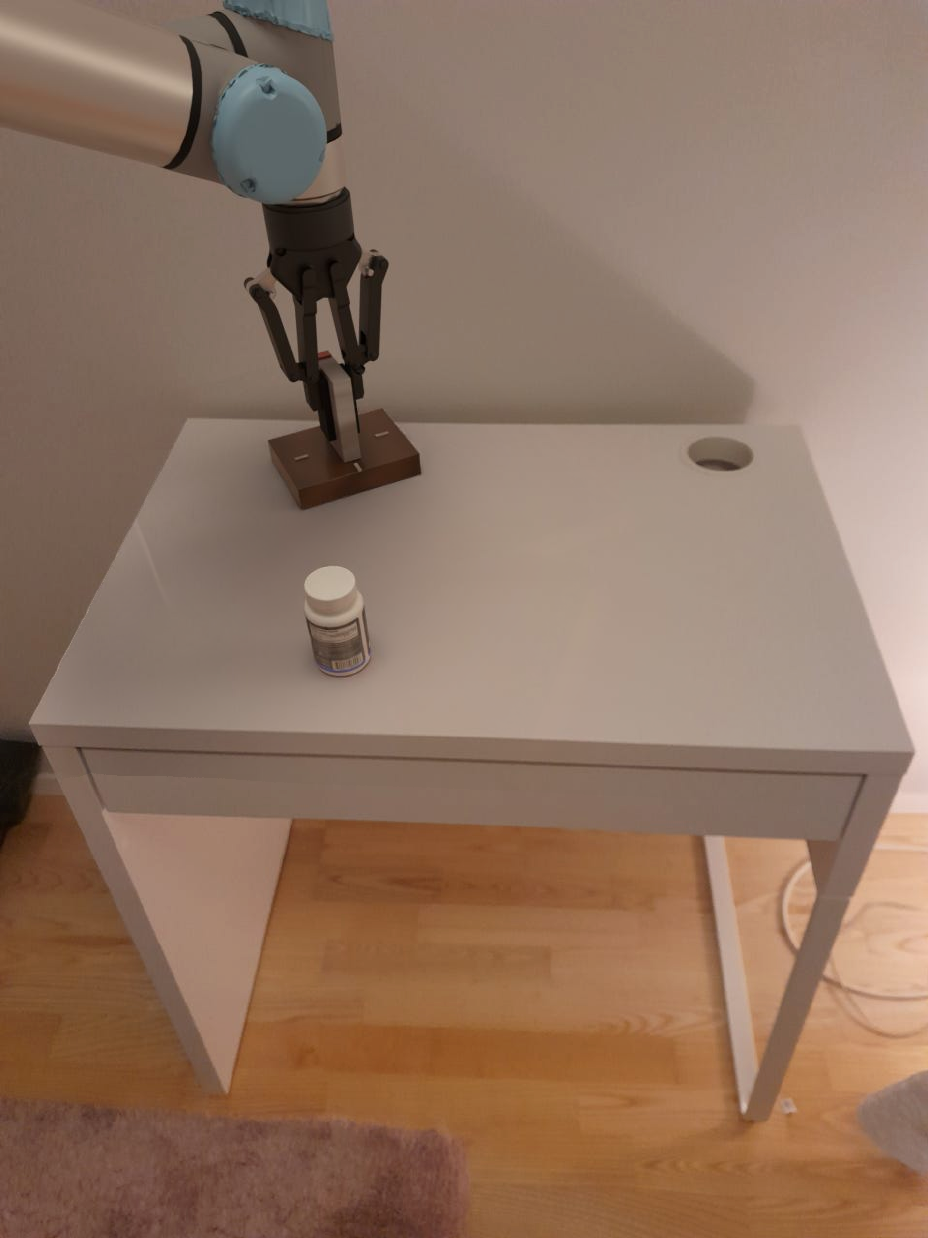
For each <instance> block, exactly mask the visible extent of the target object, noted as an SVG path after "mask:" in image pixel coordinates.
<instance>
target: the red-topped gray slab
mask: <svg viewBox="0 0 928 1238" xmlns="http://www.w3.org/2000/svg"><path fill="white" fill-rule="evenodd" d="M318 362H319V371H320V372H321V373H322V375H323V376H324V377H325V379H326V380H327V381H328V386H329V393H330V400H331V406H332V413H333V419H334V426H335V433H336V439H337V440H334V441H330V443H331V444H332V446H333V447H334V449H335V450H336V451H337V453H338V454H339V456H340V457H341V459H342V460H343V461H344V463H346V462H349V461H353V460H356V459H359V458H361V455H360V447H359V440H358V432H357V425H356V417H355V409H354V402H353V394H352V387H351V379H350V377H349V376H348V375H347V373H346V372H345V371H344V370H343V368H342V367H341V366H340V365H339V364H340V363H339V361H337V359H336V358H335V357H334V356H333V355H332V353H331V352H330V351H329V350H323V351H320V352H319V351H318Z"/></svg>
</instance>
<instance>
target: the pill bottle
mask: <svg viewBox="0 0 928 1238" xmlns="http://www.w3.org/2000/svg"><path fill="white" fill-rule="evenodd" d="M303 590H304V597H305V601H304V604H303V614H304V616H305V622H306V625H307V630H308V631H307V632H308V634H309V640H310V643H311V649H312V653H313V659H314V662H315V664H316V666H317V667H318V669H319V670H320V671H321V672H323V673H325V674H327V675H330V676H334V677H347V676H351V675H354V674H356V673H357V672H360V671H361V670H362V669H364V668H365V666H366V665H367V664H368V663H369V661H370V659H371V656H372V647H371V640H370V635H369V633H370V632H369V628H368V622H367V621H368V620H367V615H366V608H365V601H364V598H363V595H362V594H361V592H360V591H359V590H358V588H357V581H356V577H355V575H354V573H353V572H352V571H350V570H349V569H347V568H345V567H343V566H339V565H338V566H337V565H328V566H322V567H319V568H318V569H315V570H313V571H312V572H311V573H309V574H308V575H307V576H306V578H305V581H304V584H303Z"/></svg>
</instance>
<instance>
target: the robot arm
mask: <svg viewBox="0 0 928 1238" xmlns="http://www.w3.org/2000/svg"><path fill="white" fill-rule="evenodd" d="M222 7H223V8H222V9H219V10H215V11H214V12H212V13H207V14H204V15H199V16H192V17H186V18H179V19H175V20H168V21H162V22H157V23H156V22H155V23H150V22H147V21H145V20H141V19H138V18H136V17H133V16H130V15H127V14H125V13H122V12H119V11H117V10H114V9H111V8H108V7H106V6H104V5H100V4H97V3H95V2H91V1H88V0H0V128H3V129H7V130H11V131H14V132H18V133H22V134H27V135H31V136H36V137H40V138H42V139H43V138H44V139H47V140H52V141H55V142H59V143H63V144H67V145H71V146H75V147H78V148H83V149H87V150H92V151H95V152H100V153H104V154H106V155H107V154H108V155H110V156H115V157H119V158H123V159H127V160H130V161H136V162H140V163H144V164H147V165H150V166H151V165H152V166H155V167H158V168H161V169H164V170H168V171H170V172H174V173H177V174H181V175H185V176H189V177H194V178H196V179H200V180H205V181H208V182H212V183H217V184H219V185H223V186H225V187H226V188H227V189H229V190H230V191H231V192H232V193H233V194H235V195H236V196H238V197H240V198H244V199H250V200H253V201H255V202H257V203H261V209H262V214H263V220H264V225H265V231H266V237H267V242H268V248H269V249H268V255H267V257H266V268H265V269H264V270H263V271H262V272H261V273H259V274H258V275H257V276H256V277H255V278H254V277H253V276H249V277H246V278H245V279H244V281H243V287H244V289H245V291H247V293H248V294H249V295H250V297H251V299H252V300H253V301H254V302H255V303H256V305H257V307H258V310H259V313H260V316H261V318H262V320H263V323H264V326H265V329H266V332H267V334H268V338H269V340H270V343H271V345H272V348H273V351H274V354H275V356H276V359H277V362H278V364H279V368H280V369H281V372H282V373H283V374H284V376H285V377H286V379H288V381H289V382H291V383H297V382H302V386H303V392H304V397H305V402H306V404H307V405H308V406H309V408H310V409H311V410H312V412H317V416H318V423H319V426H320V429H321V430H322V432H323V433H324V435H325V436H326V437H327V439H328V440H329V442H330V441H334V440H337V439H336V433H335V426H334V419H333V413H332V406H331V400H330V393H329V386H328V381H327V380H326V379H325V377H324V376H323V375H322V373H321V372H320V371H319V362H318V353H319V347H318V345H319V344H318V333H317V332H318V329H317V314H318V302H319V301H321V300H323V299H327V300H328V304H329V309H330V312H331V313H330V314H331V317H332V320H333V321H332V322H333V326H334V329H335V333H336V337H337V341H338V342H337V343H338V345H339V350H340V354H341V359H342V360H343V362H341V363H339V365H340V366H341V367H342V368H343V370H344V371H345V372H346V373H347V375H348V376H349V377H350V379H351V387H352V394H353V402H354V409H355V417H356V425H357V432H358V433H360V426H359V419H358V415H359V411H358V404H357V401H358V400H360V399H364V396H365V387H364V378H363V375H364V374H365V372H366V366H365V365H366V364H367V363H369V362H376V361H377V360H378V359H379V357H380V343H381V342H380V341H381V315H382V293H383V292H382V290H383V289H382V288H383V283H384V281H385V278H386V275H387V272H388V269H389V265H390V263H389V261H388V259H387V258H386V257H385V256H384V255H382V253H380V252H379V250H377V249H376V248H371V249H370V250H367V249H365V248H362V246H361V244H360V242H359V241H358V239H357V238H356V233H355V223H354V216H353V207H352V199H351V192H350V190H349V189H348V188H347V185H348V183H349V180H350V179H349V172H348V171H349V169H348V164H347V163H348V162H347V156H346V149H345V141H344V134H343V126H342V117H341V106H340V98H339V88H338V79H337V71H336V70H337V69H336V60H335V51H334V43H333V42H335V36H334V33H333V28H332V24H331V18H330V13H329V5H328V1H327V0H222ZM357 267H358V271H359V272H360V275H359V276H360V277H359V307H358V338H357V333H356V328H355V324H354V320H353V315H352V311H351V307H350V305H351V300H350V296H349V292H348V285H349V283H350V281H351V279H352V277H353V275H354V273H355V271H356V269H357ZM276 282H278V283H279V284H280V285H282V287H284V288H285V290H287V291H288V292H289V293H290V294H291V299H292V303H293V306H294V318H295V330H296V343H297V357H298V362H297V361H296V359H295V355H294V352H293V349H292V346H291V343H290V340H289V338H288V335H287V331H286V328H285V325H284V322H283V320H282V317H281V315H280V311H279V309H278V306H277V305H276V304H275V302H274V301H273V300H275V298H276V296H277V291H276V287H275V285H276Z"/></svg>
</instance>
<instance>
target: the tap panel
mask: <svg viewBox="0 0 928 1238" xmlns="http://www.w3.org/2000/svg"><path fill="white" fill-rule="evenodd" d="M358 419H359V426H360V433H358V440H359V447H360V455H361V458H359V459H356V460H353V461H349V462H346V463H344V461H343V460H342V459H341V457H340V456H339V454H338V453H337V451H336V450H335V449H334V447H333V446H332V444H331V443H330V442H329V440H328V439H327V437H326V436H325V435H324V433H323V432H322V430H321V429H320V425H317V426H314V427H310V428H306V429H303V430H299V431H296V432H291V433H289V434H285V435H281V436H278V437H274V438H271V439H268V440H267V445H268V450H269V454H270V459H271V461H272V463H273V465H274V466H275V468H276V470H277V472H278V473H279V474H280V477H281V478H282V479H283V481H284V483H285V484H286V486H287V488H288V489H289V491H290V493H291V495H292V496H293V498H294V500H295V501H296V503H297V505H298V506H299V508H300V509H301V510H306V509H309V508H313V507H316V506H319V505H323V504H326V503H329V502H333V501H336V500H339V499H343V498H345V497H349V496H352V495H356V494H358V493H362V492H365V491H368V490H371V489H375V488H379V487H381V486H385V485H388V484H391V483H394V482H395V483H396V482H398V481H401V480H404V479H408V478H411V477H415V476H417V475H421V474H422V468H421V455H420V452H419V451H418V449H416V447H415V446H414V445H413V443H412V442H411V441H410V440H409V439H408V437H407V436H406V435H405V434H404V433H403V431H402V430H401V429H400V428H399V426H398V425H397V424H396V423H395V422H394V420H393V419H392V418H391V416H389V414H388V413H387V412H386V411H385V409H384V408H383V407H382V408H378V409H375V410H371V411H368V412H363V413H359V414H358Z"/></svg>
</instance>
